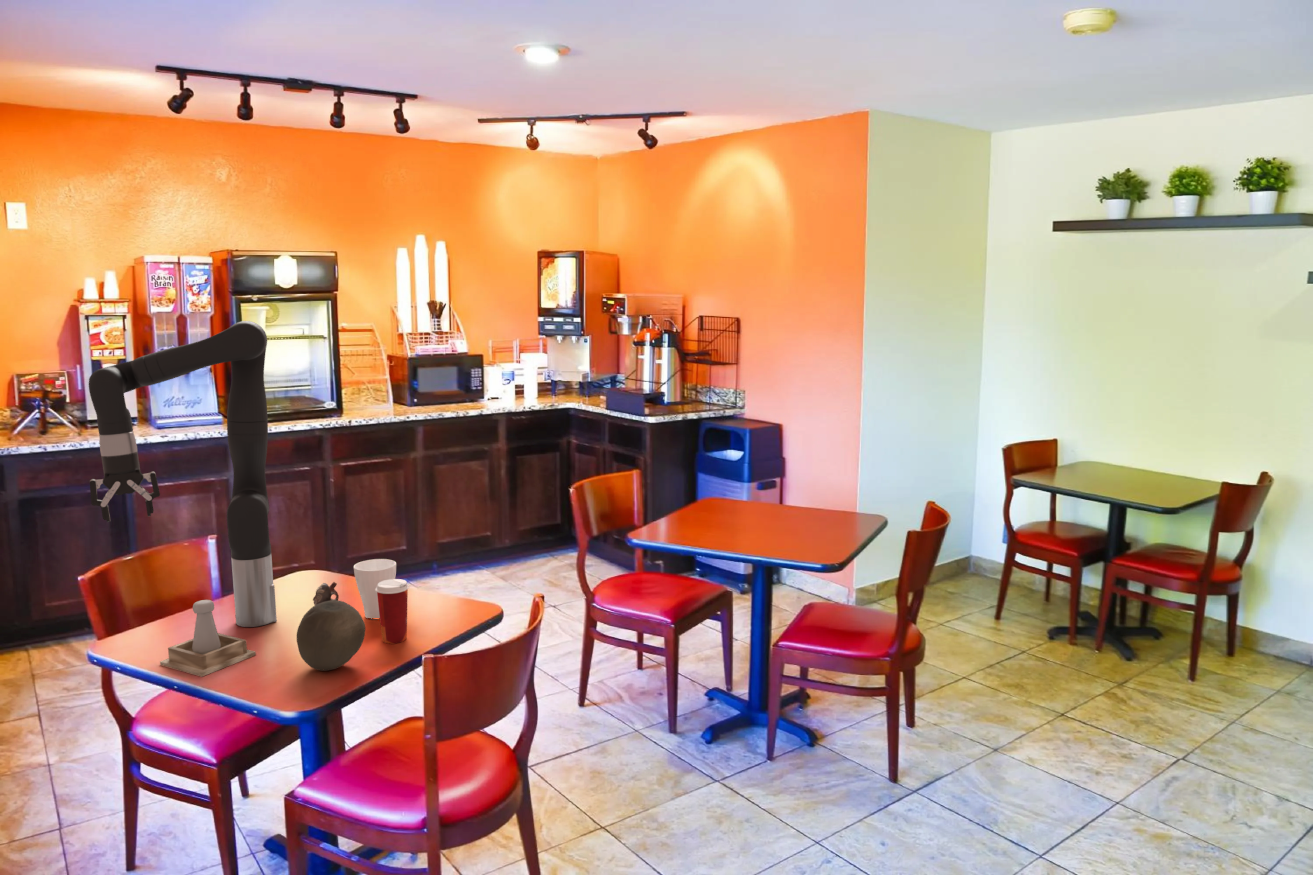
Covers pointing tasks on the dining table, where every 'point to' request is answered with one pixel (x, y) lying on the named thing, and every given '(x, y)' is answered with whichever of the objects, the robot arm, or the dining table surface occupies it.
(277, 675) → the dining table surface
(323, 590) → the figurine
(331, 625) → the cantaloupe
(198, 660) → the tray
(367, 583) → the cup
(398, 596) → the paper cup
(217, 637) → the salt shaker
